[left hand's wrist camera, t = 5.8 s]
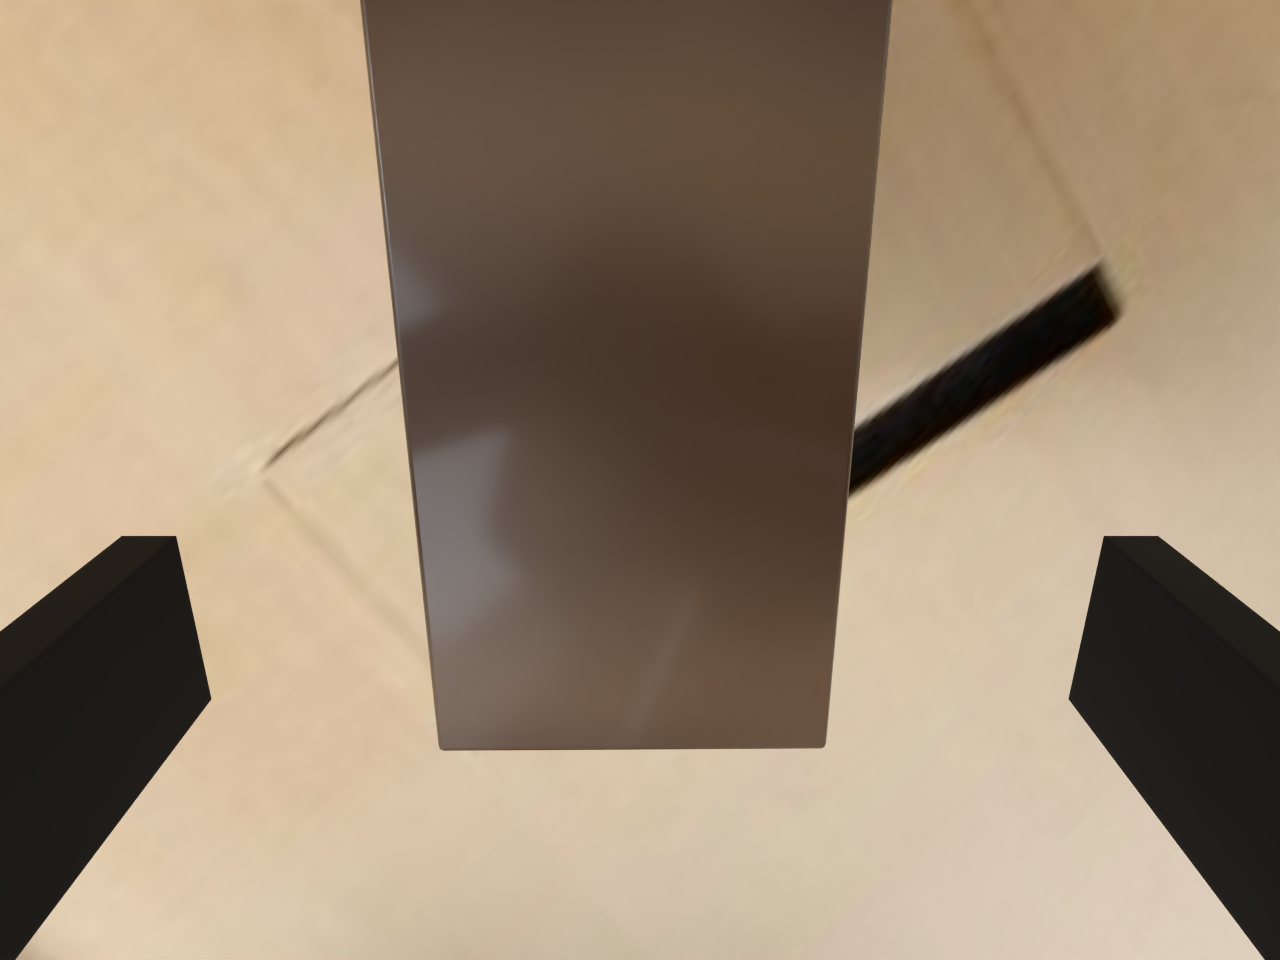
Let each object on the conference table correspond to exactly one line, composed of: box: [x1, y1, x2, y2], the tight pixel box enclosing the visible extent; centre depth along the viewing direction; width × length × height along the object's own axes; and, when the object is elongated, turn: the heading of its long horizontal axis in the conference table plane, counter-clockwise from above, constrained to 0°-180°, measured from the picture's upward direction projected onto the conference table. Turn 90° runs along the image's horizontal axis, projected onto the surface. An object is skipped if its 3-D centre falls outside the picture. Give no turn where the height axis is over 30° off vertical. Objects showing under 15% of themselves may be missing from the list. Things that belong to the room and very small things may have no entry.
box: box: [360, 0, 892, 751], centre depth 15 cm, size 22×6×10 cm, turn 0°
